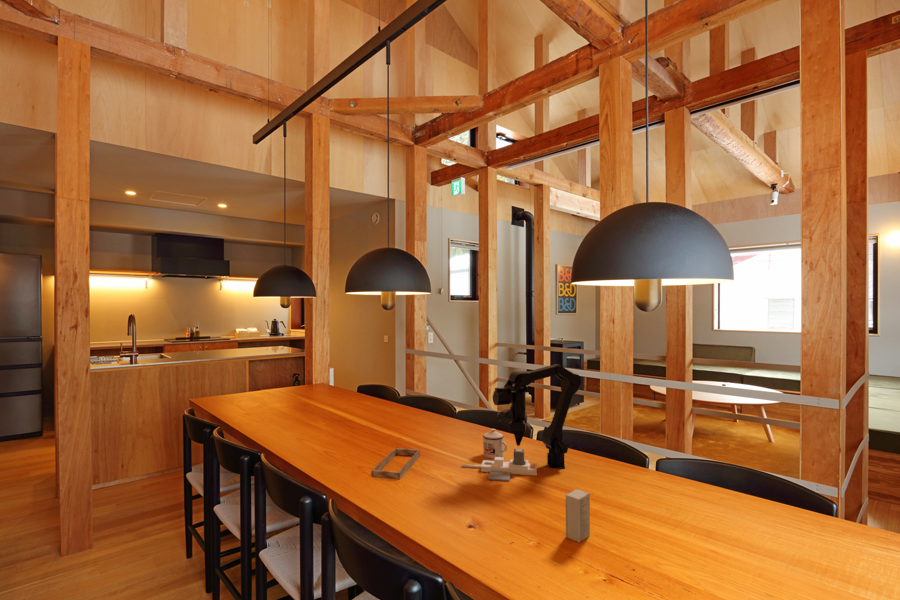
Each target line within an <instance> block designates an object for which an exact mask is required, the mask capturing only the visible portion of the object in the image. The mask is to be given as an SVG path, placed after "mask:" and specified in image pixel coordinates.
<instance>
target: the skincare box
mask: <svg viewBox="0 0 900 600" xmlns="http://www.w3.org/2000/svg"><path fill="white" fill-rule="evenodd" d="M590 495H591V493H590V492H588V491H585V490H582V489H578V488H575V489H573V490H572V491H569V492H568V493H567V494H565V538H568V539H569V540H571V541H574V542H576V541H577V543H581V542H582V541H583V540H585V539H587V538H588V537H589V536H591V518H590V515H591V513H590V512H591V509H590V508H591V504H590V503H591V501H590ZM581 540H582V541H581Z"/></svg>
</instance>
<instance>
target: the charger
mask: <svg viewBox="0 0 900 600" xmlns="http://www.w3.org/2000/svg"><path fill="white" fill-rule="evenodd" d="M513 459H514V465H524V460H525V449H521V448H520V449H519V448H514V449H513Z"/></svg>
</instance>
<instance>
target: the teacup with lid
mask: <svg viewBox="0 0 900 600" xmlns="http://www.w3.org/2000/svg"><path fill="white" fill-rule="evenodd" d="M482 437H483V441H482V443H483V445H482V446H483V456H484V457H485V458H488V459H495V457H503V455H504V454H505V453H506V452H507V450H508V443H506V442H505V441H504V435H503V434H502V433H500V432H498V431H497V430H496V428H491V429H490V431H488V432H485V433H484V434H482Z"/></svg>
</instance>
